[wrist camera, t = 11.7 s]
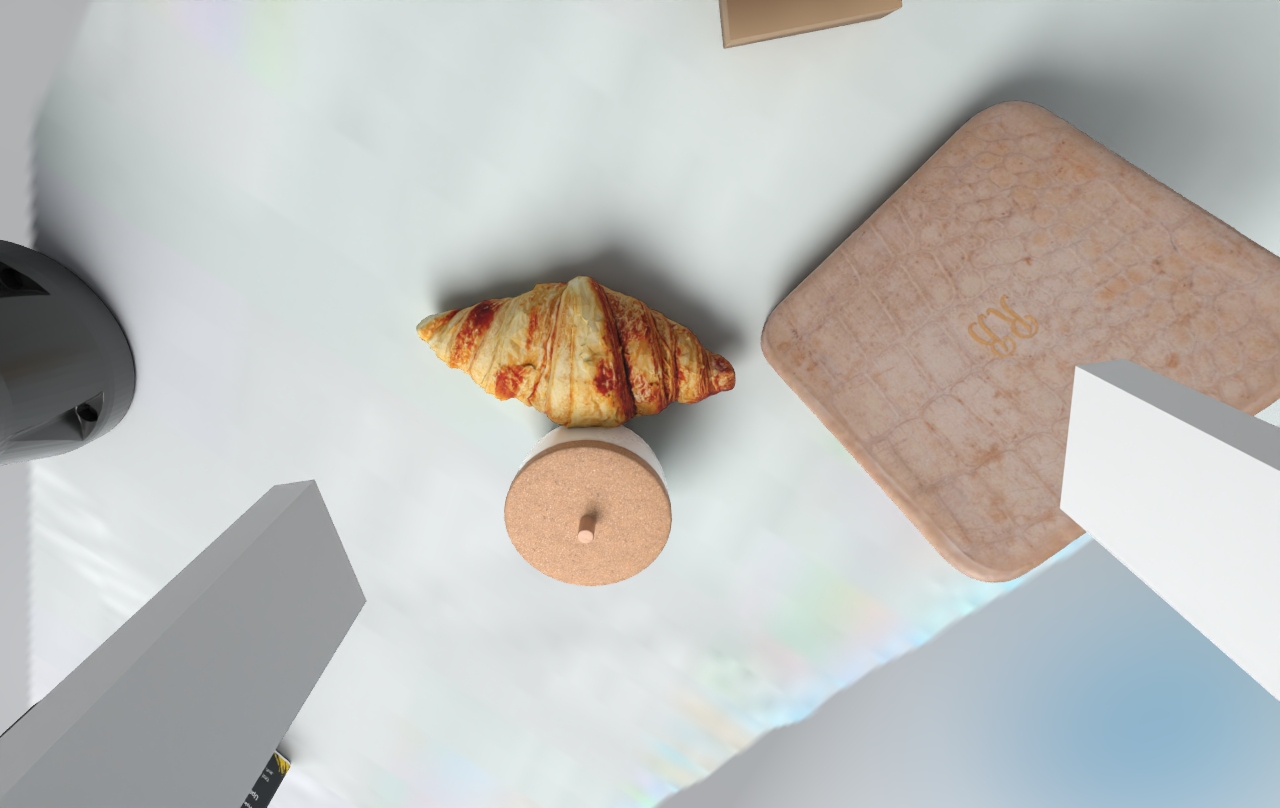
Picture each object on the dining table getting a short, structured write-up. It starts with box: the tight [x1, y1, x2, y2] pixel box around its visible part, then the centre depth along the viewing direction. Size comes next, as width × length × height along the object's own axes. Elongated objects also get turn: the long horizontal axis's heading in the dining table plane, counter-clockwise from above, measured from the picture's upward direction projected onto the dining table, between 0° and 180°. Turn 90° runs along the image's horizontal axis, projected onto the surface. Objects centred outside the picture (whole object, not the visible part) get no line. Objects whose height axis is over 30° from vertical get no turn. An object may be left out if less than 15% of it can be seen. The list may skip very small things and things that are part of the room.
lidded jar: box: [504, 425, 672, 586], centre depth 42 cm, size 11×11×9 cm
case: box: [761, 101, 1280, 582], centre depth 35 cm, size 20×21×16 cm
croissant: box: [416, 276, 735, 428], centre depth 40 cm, size 21×10×8 cm, turn 83°
